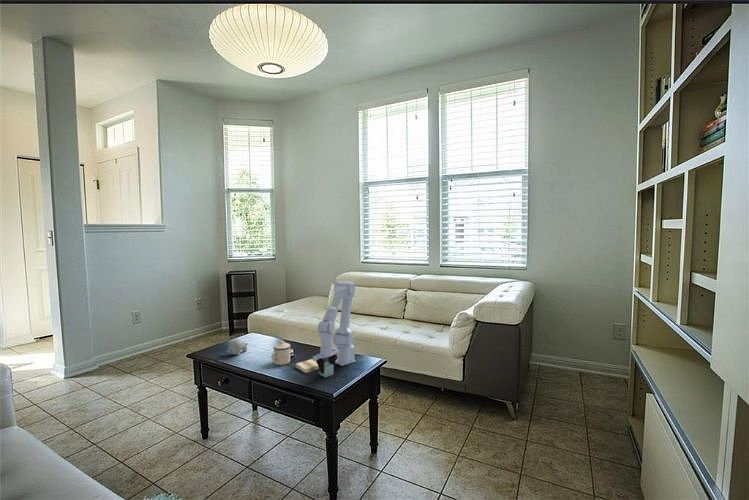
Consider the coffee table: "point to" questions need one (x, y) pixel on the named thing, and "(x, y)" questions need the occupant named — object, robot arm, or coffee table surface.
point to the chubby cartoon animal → (237, 347)
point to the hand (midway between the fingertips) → (326, 371)
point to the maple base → (307, 366)
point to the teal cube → (328, 369)
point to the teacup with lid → (281, 353)
